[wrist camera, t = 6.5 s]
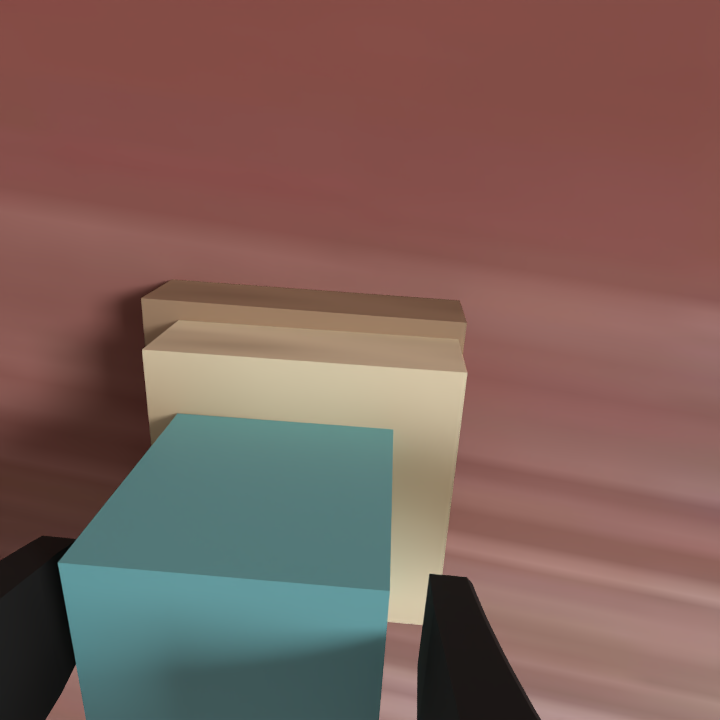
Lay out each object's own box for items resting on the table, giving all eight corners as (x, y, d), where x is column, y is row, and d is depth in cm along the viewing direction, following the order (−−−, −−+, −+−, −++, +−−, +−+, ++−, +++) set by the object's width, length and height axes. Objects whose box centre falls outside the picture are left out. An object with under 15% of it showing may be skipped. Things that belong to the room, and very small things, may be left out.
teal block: (380, 599, 13) (370, 809, 9) (190, 583, 14) (97, 781, 9) (393, 429, 12) (389, 591, 8) (177, 413, 12) (56, 562, 8)
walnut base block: (429, 526, 18) (432, 585, 16) (194, 505, 18) (163, 558, 16) (457, 294, 15) (466, 323, 13) (180, 274, 16) (141, 298, 13)
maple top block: (432, 567, 15) (435, 626, 14) (194, 546, 16) (166, 600, 14) (458, 339, 13) (467, 372, 11) (178, 320, 13) (142, 350, 12)
